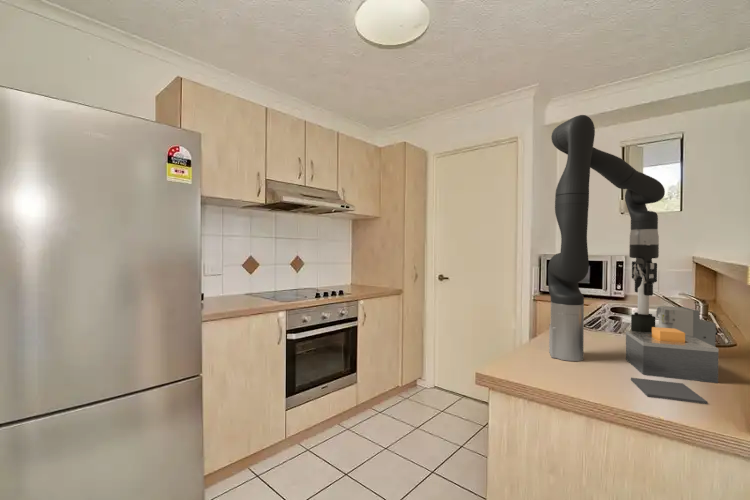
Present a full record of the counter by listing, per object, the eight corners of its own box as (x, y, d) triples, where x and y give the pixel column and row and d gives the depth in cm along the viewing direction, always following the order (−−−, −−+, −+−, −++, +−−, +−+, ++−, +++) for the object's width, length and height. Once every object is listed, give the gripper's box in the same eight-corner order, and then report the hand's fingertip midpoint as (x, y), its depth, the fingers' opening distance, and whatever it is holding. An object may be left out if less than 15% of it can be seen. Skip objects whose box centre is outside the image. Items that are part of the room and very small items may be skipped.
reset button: (659, 356, 96) (660, 331, 96) (651, 350, 101) (651, 326, 101) (684, 358, 94) (685, 333, 94) (675, 352, 99) (675, 328, 99)
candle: (629, 352, 114) (629, 277, 114) (643, 352, 115) (643, 277, 115) (642, 357, 109) (642, 279, 109) (657, 356, 110) (657, 279, 110)
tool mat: (647, 396, 80) (647, 394, 80) (630, 379, 90) (630, 377, 90) (707, 404, 76) (707, 401, 76) (682, 385, 86) (682, 383, 86)
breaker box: (643, 374, 94) (643, 342, 94) (625, 359, 107) (625, 330, 107) (718, 383, 88) (718, 348, 88) (690, 365, 101) (690, 335, 101)
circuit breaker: (721, 359, 108) (722, 311, 108) (669, 356, 111) (669, 309, 110) (703, 352, 115) (704, 307, 115) (655, 349, 118) (655, 306, 118)
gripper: (622, 243, 120) (622, 290, 120) (638, 243, 106) (637, 296, 106) (648, 243, 117) (648, 291, 117) (668, 243, 104) (667, 297, 104)
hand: (643, 293), depth 112 cm, fingers open, 7 cm apart
